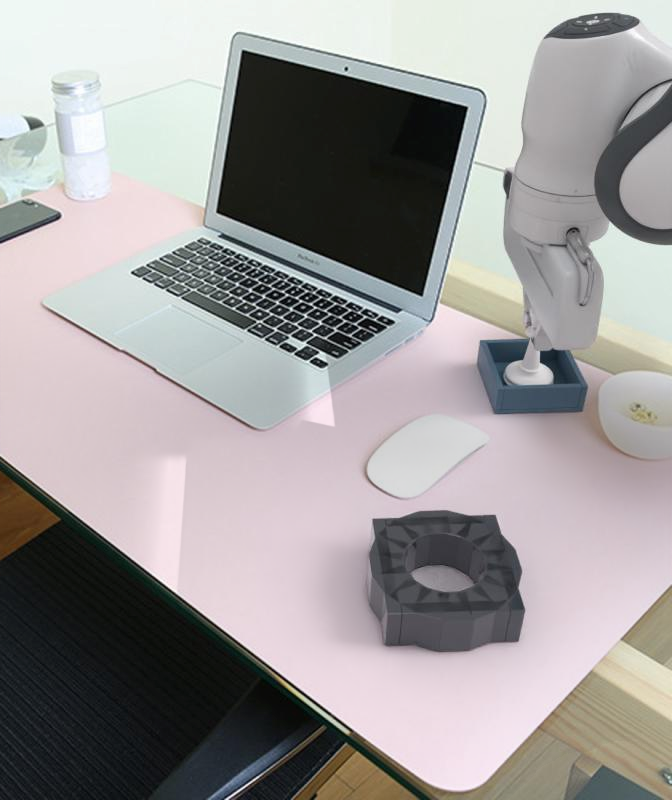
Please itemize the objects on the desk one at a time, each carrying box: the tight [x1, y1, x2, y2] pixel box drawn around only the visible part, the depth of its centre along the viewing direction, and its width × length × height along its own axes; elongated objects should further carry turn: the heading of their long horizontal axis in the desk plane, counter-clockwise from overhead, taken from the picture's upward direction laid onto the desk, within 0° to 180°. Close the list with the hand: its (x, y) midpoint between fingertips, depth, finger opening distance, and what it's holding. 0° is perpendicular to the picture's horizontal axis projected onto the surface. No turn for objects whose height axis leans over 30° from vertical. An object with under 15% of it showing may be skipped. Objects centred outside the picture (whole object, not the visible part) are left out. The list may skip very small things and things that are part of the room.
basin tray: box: [476, 338, 589, 415], centre depth 96 cm, size 9×9×3 cm
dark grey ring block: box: [366, 509, 526, 653], centre depth 74 cm, size 11×11×4 cm
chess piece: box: [503, 307, 554, 386], centre depth 93 cm, size 5×5×10 cm
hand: (536, 337), depth 93 cm, fingers closed on chess piece
